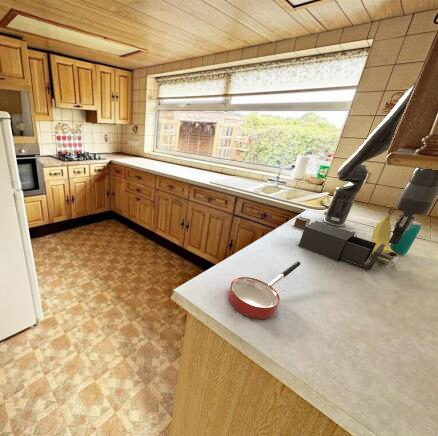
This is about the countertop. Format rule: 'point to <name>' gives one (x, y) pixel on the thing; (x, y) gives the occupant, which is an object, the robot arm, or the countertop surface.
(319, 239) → the block
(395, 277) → the countertop surface
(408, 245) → the beverage can
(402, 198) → the robot arm
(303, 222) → the block
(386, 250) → the banana
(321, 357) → the countertop surface
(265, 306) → the frying pan
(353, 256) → the basket
